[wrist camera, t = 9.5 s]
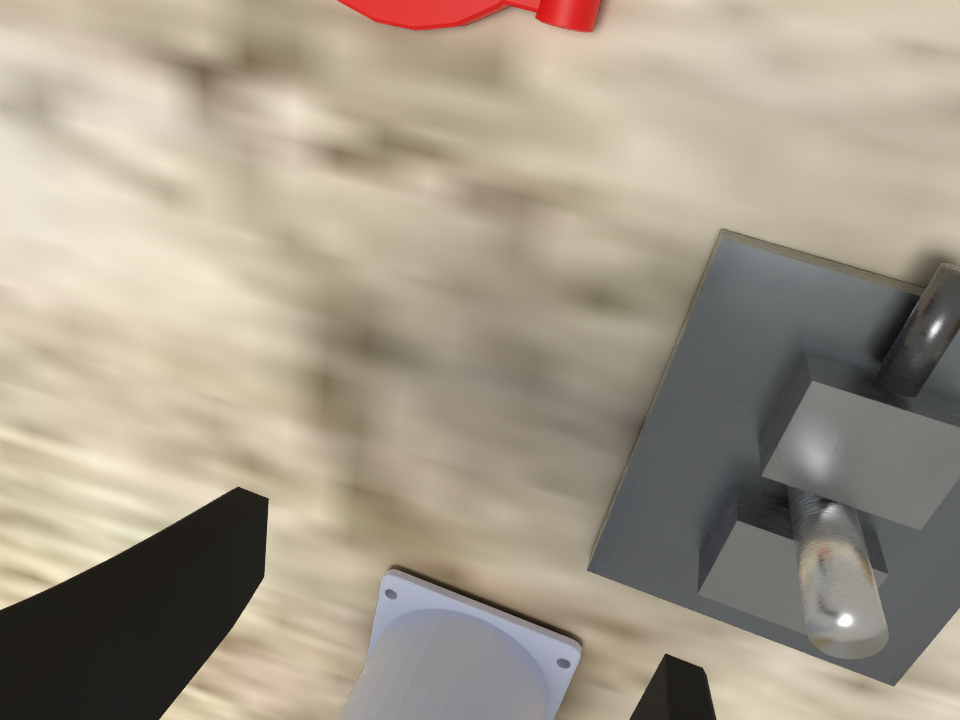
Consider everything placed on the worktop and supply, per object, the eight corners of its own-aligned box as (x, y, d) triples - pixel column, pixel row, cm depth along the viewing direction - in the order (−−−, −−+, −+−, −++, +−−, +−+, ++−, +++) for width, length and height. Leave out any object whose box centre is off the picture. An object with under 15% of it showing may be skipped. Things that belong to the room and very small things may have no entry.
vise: (889, 665, 23) (938, 861, 17) (590, 554, 24) (556, 704, 19) (1172, 314, 16) (1385, 465, 11) (736, 191, 17) (743, 273, 12)
